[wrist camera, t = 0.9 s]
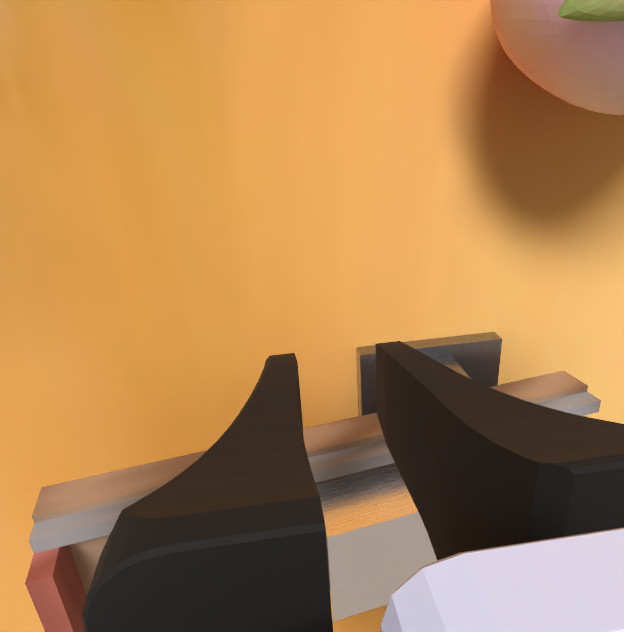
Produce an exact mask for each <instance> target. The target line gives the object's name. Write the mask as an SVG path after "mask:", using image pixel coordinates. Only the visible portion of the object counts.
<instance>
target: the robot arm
mask: <svg viewBox="0 0 624 632" xmlns="http://www.w3.org/2000/svg"><path fill="white" fill-rule="evenodd" d="M376 412H377V416H378V419H379V422H380V426H381V429H382V432H383V435H384V438H385V441H386V445H387V447H388V449H389V451H390V453H391V455H392V458H393V460H394V462H395V464H396V466H397V468H398V470H399V472H400V475H401V477H402V479H403V481H404V483H405V485H406V487H407V489H408V491H409V493H410V495H411V498H412V500H413V502H414V504H415V506H416V508H417V510H418V512H419V514H420V516H421V519H422V521H423V524H424V526H425V528H426V531H427V533H428V536H429V539H430V541H431V544H432V547H433V550H434V553H435V556H436V559H437V561H435V562H432V563H430V564H427V565H424V566H422V567H421V568H420V569H419V570H418V571H417V572H416V573H414V574H413V575H412V576H411V577H410V578H409V579H408V580H406V581H405V582H404V583H403V584H402V585H401V586H400V587H398V588H397V589H396V590H395V591H394V593H393V594H392V595H391V598H390V601H389V604H388V606H387V609H386V612H385V615H384V618H383V620H382V623H381V632H624V424H620V423H615V422H609V421H604V420H599V419H594V418H588V417H584V416H580V415H575V414H571V413H567V412H563V411H559V410H556V409H552V408H548V407H545V406H541V405H538V404H534V403H531V402H528V401H525V400H522V399H519V398H517V397H514V396H511V395H508V394H506V393H503V392H500V391H497V390H495V389H493V388H490V387H488V386H485V385H483V384H481V383H479V382H477V381H475V380H472V379H470V378H468V377H466V376H464V375H462V374H460V373H458V372H456V371H454V370H452V369H450V368H448V367H446V366H445V365H443V364H441V363H439V362H437V361H435V360H434V359H432V358H430V357H428V356H427V355H425V354H423V353H421V352H419V351H418V350H416V349H414V348H412V347H410V346H409V345H407V344H405V343H402V342H400V341H397V342H388V343H379V344H376ZM82 618H83V624H84V631H85V632H333V625H332V611H331V597H330V582H329V568H328V553H327V539H326V527H325V521H324V515H323V510H322V505H321V500H320V495H319V492H318V490H317V487H316V483H315V480H314V477H313V474H312V470H311V467H310V463H309V459H308V455H307V451H306V448H305V443H304V436H303V424H302V412H301V400H300V388H299V376H298V365H297V360H296V357H295V354H294V353H290V354H281V355H273V356H269V357H268V359H267V360H266V362H265V366H264V369H263V372H262V374H261V376H260V378H259V381H258V383H257V385H256V386H255V388H254V390H253V392H252V394H251V396H250V398H249V399H248V401H247V402H246V404H245V405H244V407H243V408H242V410H241V411H240V413H239V415H238V416H237V417H236V419H235V420H234V421H233V423H232V424H231V425H230V427H229V428H228V429H227V430H226V432H225V433H224V434H223V435H222V436H221V437H220V439H219V440H218V441H217V442H216V443H215V444H214V445H213V446H212V447H211V448H210V449H208V450H207V451H206V452H205V453H204V454H203V455H202V456H201V457H200V458H199V459H198V460H197V461H195V462H194V463H193V464H192V465H190V466H189V467H188V468H187V469H185V470H184V471H183V472H181V473H180V474H179V475H177V476H176V477H175V478H173V479H172V480H170V481H169V482H167V483H166V484H165V485H163V486H162V487H160V488H158V489H157V490H155V491H153V492H152V493H150V494H148V495H147V496H145V497H143V498H142V499H140V500H138V501H137V502H135V503H133V504H132V505H130V506H128V507H126V508H124V509H123V510H122V511H121V513H120V515H119V517H118V519H117V521H116V523H115V525H114V527H113V529H112V531H111V533H110V535H109V537H108V539H107V541H106V544H105V546H104V548H103V550H102V553H101V555H100V558H99V561H98V564H97V566H96V569H95V573H94V576H93V579H92V582H91V585H90V588H89V591H88V594H87V598H86V602H85V606H84V610H83V614H82Z"/></svg>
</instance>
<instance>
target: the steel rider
mask: <svg viewBox="0 0 624 632" xmlns="http://www.w3.org/2000/svg"><path fill="white" fill-rule="evenodd" d="M316 487H317V490H318V492H319V495H320V500H321V505H322V510H323V515H324V521H325V527H326V539H327V553H328V568H329V582H330V597H331V611H332V620H333V622H334V621H337V620H340V619H343V618H347V617H350V616H353V615H356V614H359V613H362V612H365V611H368V610H372V609H375V608H378V607H381V606H384V605H387V604H389V601H390V598H391V595H392V594H393V593H394V591H395V590H396V589H397V588H398V587H400V586H401V585H402V584H403V583H404V582H405V581H406V580H408V579H409V578H410V577H411V576H412V575H413V574H414V573H416V572H417V571H418V570H419V569H420V568H421V567H422V566H424V565H427V564H430V563H432V562H435V561H437V559H436V556H435V553H434V550H433V547H432V544H431V541H430V539H429V536H428V533H427V531H426V528H425V526H424V524H423V521H422V519H421V516H420V514H419V512H418V510H417V508H416V506H415V504H414V502H413V500H412V498H411V495H410V493H409V491H408V489H407V487H406V485H405V483H404V481H403V479H402V477H401V475H400V472H399V470H398V468H397V466H396V464H395V463H393V464H389V465H385V466H381V467H377V468H373V469H369V470H365V471H361V472H357V473H353V474H349V475H345V476H341V477H337V478H333V479H329V480H325V481H321V482H317V483H316Z"/></svg>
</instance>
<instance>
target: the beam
mask: <svg viewBox="0 0 624 632" xmlns="http://www.w3.org/2000/svg"><path fill="white" fill-rule="evenodd" d="M490 388H493V389H495V390H497V391H500V392H503V393H506V394H508V395H511V396H514V397H517V398H519V399H522V400H525V401H528V402H531V403H534V404H538V405H541V406H545V407H548V408H552V409H556V410H559V411H563V412H567V413H571V414H575V415H580V416H584V415H588V414H592V413H596V412H599V407H600V402H601V400H599V399H598V398H596V397H595V396H593V395H592V394H590V393H588V392H587V388H588V386H587V385H586V384H584V383H583V382H581V381H579V380H578V379H576V378H575V377H573V376H572V375H570V374H568V373H567V372H565V371H560V372H556V373H551V374H547V375H542V376H538V377H533V378H529V379H525V380H520V381H516V382H511V383H507V384H502V385H498V386H493V387H490ZM303 436H304V443H305V448H306V451H307V455H308V459H309V463H310V467H311V470H312V474H313V477H314V480H315V483H317V482H321V481H325V480H329V479H333V478H337V477H341V476H345V475H349V474H353V473H357V472H361V471H365V470H369V469H373V468H377V467H381V466H385V465H389V464H393V463H395V462H394V460H393V458H392V455H391V453H390V451H389V449H388V447H387V445H386V441H385V438H384V435H383V432H382V429H381V426H380V422H379V419H378V416H377V413H373V414H368V415H364V416H359V417H355V418H350V419H346V420H341V421H337V422H332V423H328V424H323V425H319V426H314V427H310V428H305V429H303ZM205 452H206V451H203V452H198V453H194V454H189V455H185V456H180V457H176V458H171V459H167V460H162V461H158V462H153V463H149V464H145V465H140V466H136V467H131V468H127V469H122V470H118V471H113V472H109V473H104V474H100V475H95V476H91V477H86V478H82V479H77V480H73V481H69V482H64V483H60V484H55V485H51V486H46V487H42V488H41V491H40V494H39V497H38V500H37V503H36V506H35V509H34V512H33V515H32V518H33V520H34V526H33V529H32V533H31V536H30V539H29V542H30V545H31V547H32V550H33V552H34V556H33V559H32V562H31V566H30V569H29V573H28V576H27V579H26V583H25V584H26V586H27V589H28V591H29V594H30V596H31V598H32V601H33V603H34V606H35V608H36V610H37V613H38V615H39V618H40V620H41V622H42V625H43V627H44V630H45V632H85V631H84V624H83V618H82V614H83V610H84V606H85V602H86V598H87V594H88V591H89V588H90V585H91V582H92V579H93V576H94V573H95V569H96V566H97V564H98V561H99V558H100V555H101V553H102V550H103V548H104V546H105V544H106V541H107V539H108V537H109V535H110V533H111V531H112V529H113V527H114V525H115V523H116V521H117V519H118V517H119V515H120V513H121V511H122V510H123V509H124V508H126V507H128V506H130V505H132V504H133V503H135V502H137V501H138V500H140V499H142V498H143V497H145V496H147V495H148V494H150V493H152V492H153V491H155V490H157V489H158V488H160V487H162V486H163V485H165V484H166V483H167V482H169V481H170V480H172V479H173V478H175V477H176V476H177V475H179V474H180V473H181V472H183V471H184V470H185V469H187V468H188V467H189V466H190V465H192V464H193V463H194V462H195V461H197V460H198V459H199V458H200V457H201V456H202V455H203V454H204V453H205Z"/></svg>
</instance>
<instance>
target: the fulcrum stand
mask: <svg viewBox="0 0 624 632" xmlns="http://www.w3.org/2000/svg"><path fill="white" fill-rule="evenodd" d="M402 343H405V344H407V345H409V346H410V347H412V348H414V349H416V350H418V351H419V352H421V353H423V354H425V355H427V356H428V357H430V358H432V359H434V360H435V361H437V362H439V363H441V364H443V365H445V366H446V367H448V368H450V369H452V370H454V371H456V372H458V373H460V374H462V375H464V376H466V377H468V378H470V379H472V380H475V381H477V382H479V383H481V384H483V385H485V386H488V387H493V386H497V384H498V374H499V364H500V354H501V344H502V338H500V337H499V336H498V335H497V334H496V333H495V332H490V333H482V334H473V335H464V336H455V337H446V338H437V339H429V340H420V341H411V342H402ZM357 378H358V411H359V416H364V415H368V414H373V413H377V412H376V345H375V346H367V347H358V348H357Z"/></svg>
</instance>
